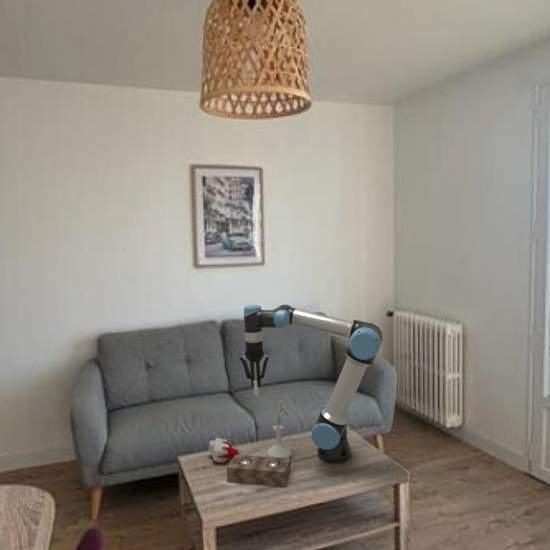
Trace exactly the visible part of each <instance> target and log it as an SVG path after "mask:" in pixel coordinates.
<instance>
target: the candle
mask: <svg viewBox="0 0 550 550" xmlns="http://www.w3.org/2000/svg"><path fill="white" fill-rule="evenodd" d="M208 442H209V444H208V445H209V446H208V452H209V453H210V454H211V456H212V460H213V461H214V462H216V463H219V464H224V463H227V462H229V460H232V459H233V458H234V456H235V455H240V452H239V449H238V448H234V447H233V446H232V445H231V443H230V442H228V441H227V439H225V438H224V439H223V438H220V437H216V438H214V440H210V441H208Z"/></svg>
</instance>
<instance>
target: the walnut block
mask: <svg viewBox="0 0 550 550" xmlns="http://www.w3.org/2000/svg"><path fill="white" fill-rule="evenodd" d="M244 459H248V460H250V465H242V464H240V461H241V460H244ZM270 462H277V463H278V467H268V464H269V463H270ZM291 464H292V461H291V458H275V457H268V456H259V455H249V454H248V455H247V454H239V455H235V456H234V458H231V461H230V462H229V463H228V465H227V466H226V479H227V480H226V481H227V482H228V483H229V482H230V483H239V484H250V485H263V486H271V487H273V486H274V487H283V488H285V487H286V485H287V483H288V480H289V479H290V475H291V473H292V465H291Z"/></svg>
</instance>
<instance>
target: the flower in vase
mask: <svg viewBox="0 0 550 550" xmlns="http://www.w3.org/2000/svg"><path fill="white" fill-rule="evenodd" d="M278 404H279V406H280V411H279V413H278V416H277V422H276V423H275V424H276V425H274V426H272V430H274V433H275V439H276V440H275V443H274V445H272V446H271V447H270V448H268V449H267V451H266V457H275V458H288V459H290V457H292V455H293V452H292V449H290V448H289V447H288V446H287V445H285V444H284V443H283V442H282V434H283V430H284V429H285V427H284V425H280V423H281V421H282V419H281V417H280V414H281V412H283V413H284V414H285V416H287V417H289V412H288V411H287V409H286V406H284V403H283V402H282V401H281V400H278Z"/></svg>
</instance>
